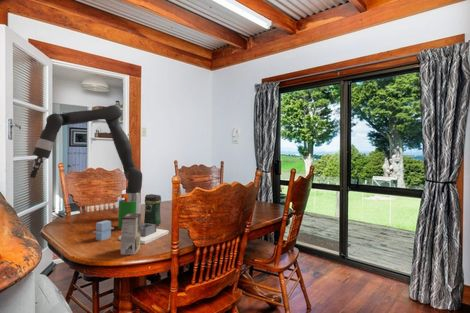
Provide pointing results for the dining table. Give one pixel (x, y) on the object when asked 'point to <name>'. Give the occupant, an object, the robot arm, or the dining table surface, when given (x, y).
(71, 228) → the dining table surface
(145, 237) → the board
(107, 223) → the block
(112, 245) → the dining table surface
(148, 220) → the coffee jar
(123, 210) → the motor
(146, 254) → the dining table surface
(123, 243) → the coffee box
